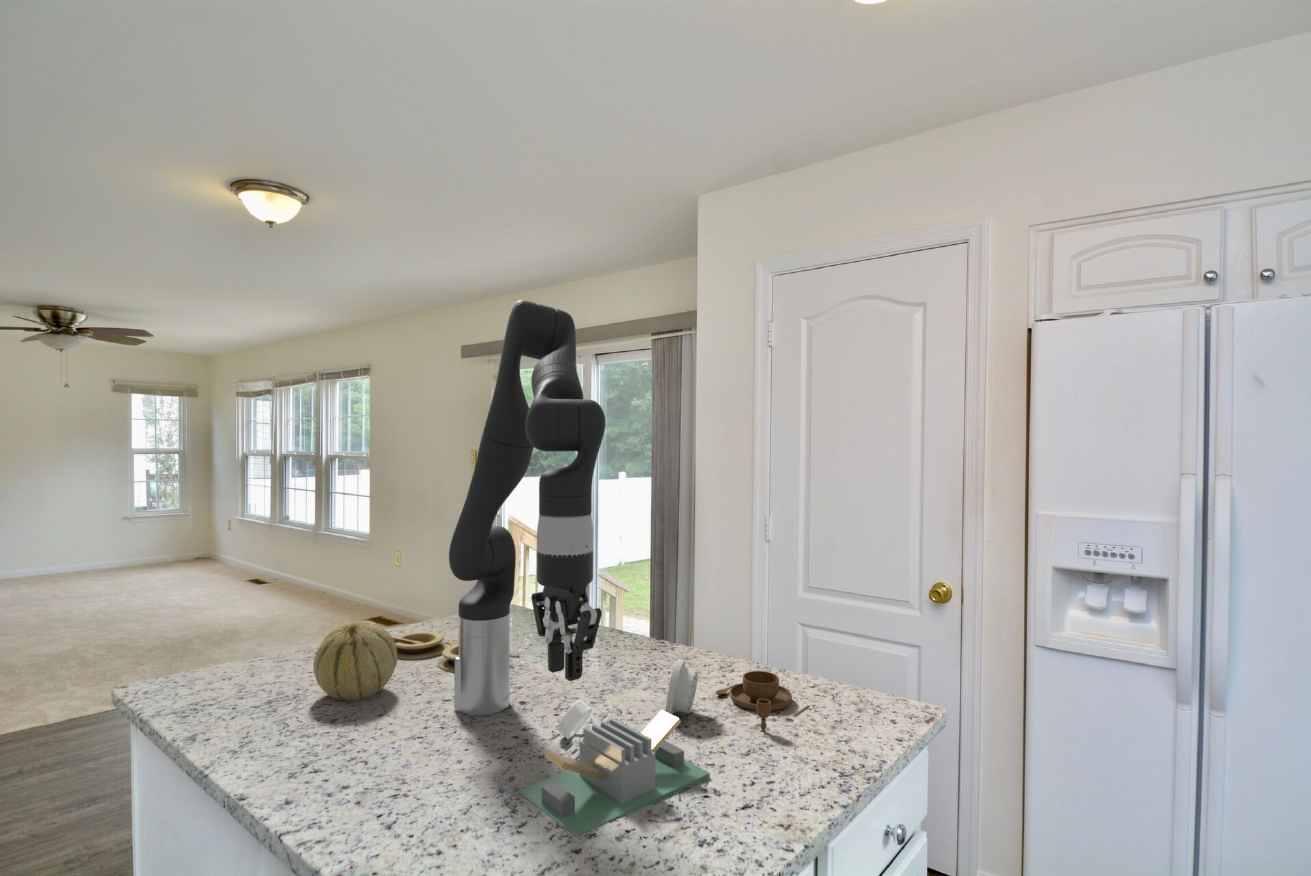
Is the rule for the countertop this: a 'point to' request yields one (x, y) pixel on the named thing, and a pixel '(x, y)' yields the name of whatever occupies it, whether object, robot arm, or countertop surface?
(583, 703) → the wide band ring
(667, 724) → the wooden block
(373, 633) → the cantaloupe
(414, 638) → the tableware set
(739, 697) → the place setting
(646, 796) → the board
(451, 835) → the countertop surface
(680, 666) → the mechanical component
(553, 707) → the countertop surface
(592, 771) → the left strap
